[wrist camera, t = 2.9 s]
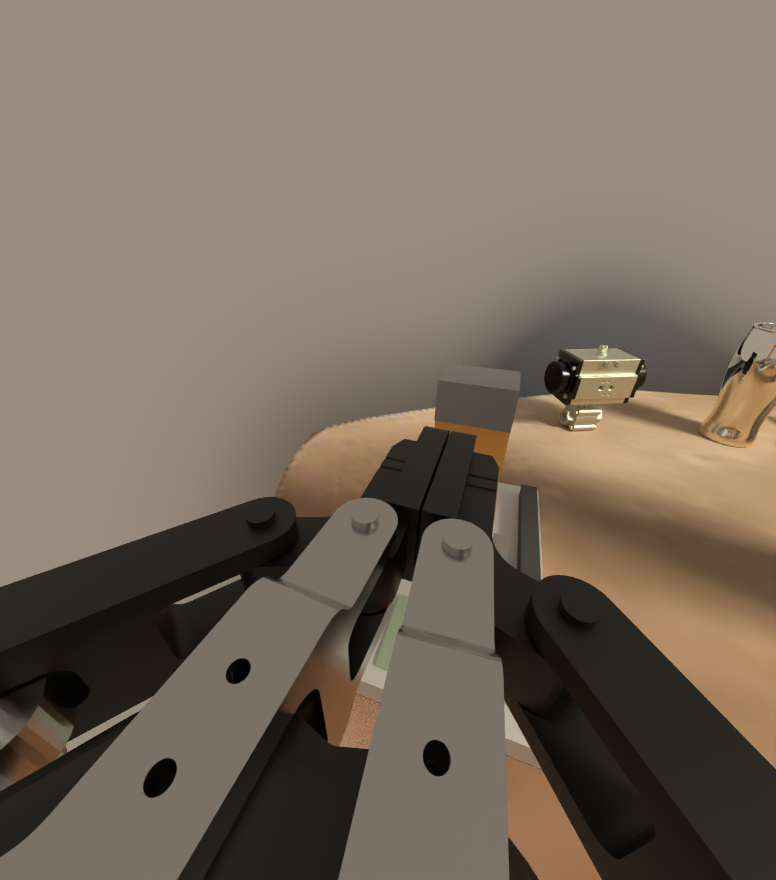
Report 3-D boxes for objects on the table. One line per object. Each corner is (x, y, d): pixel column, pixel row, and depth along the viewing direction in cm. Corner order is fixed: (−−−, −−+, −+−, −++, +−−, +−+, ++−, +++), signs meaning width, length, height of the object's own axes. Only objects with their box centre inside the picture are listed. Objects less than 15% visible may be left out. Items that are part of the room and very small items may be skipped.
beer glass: (740, 428, 51) (807, 324, 43) (769, 453, 45) (852, 338, 37) (685, 421, 52) (739, 320, 44) (706, 444, 47) (772, 333, 39)
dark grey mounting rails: (540, 718, 19) (546, 707, 18) (327, 639, 22) (325, 627, 22) (533, 498, 34) (536, 487, 33) (408, 472, 38) (408, 461, 37)
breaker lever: (480, 574, 26) (523, 391, 18) (419, 557, 27) (434, 379, 19) (484, 544, 29) (523, 372, 21) (428, 530, 30) (444, 363, 22)
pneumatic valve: (531, 419, 52) (552, 341, 46) (603, 417, 53) (633, 339, 47) (549, 438, 48) (575, 354, 41) (628, 435, 49) (664, 352, 42)
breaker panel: (542, 769, 18) (562, 741, 16) (312, 675, 22) (305, 642, 20) (533, 504, 36) (543, 474, 34) (406, 477, 40) (408, 449, 38)
